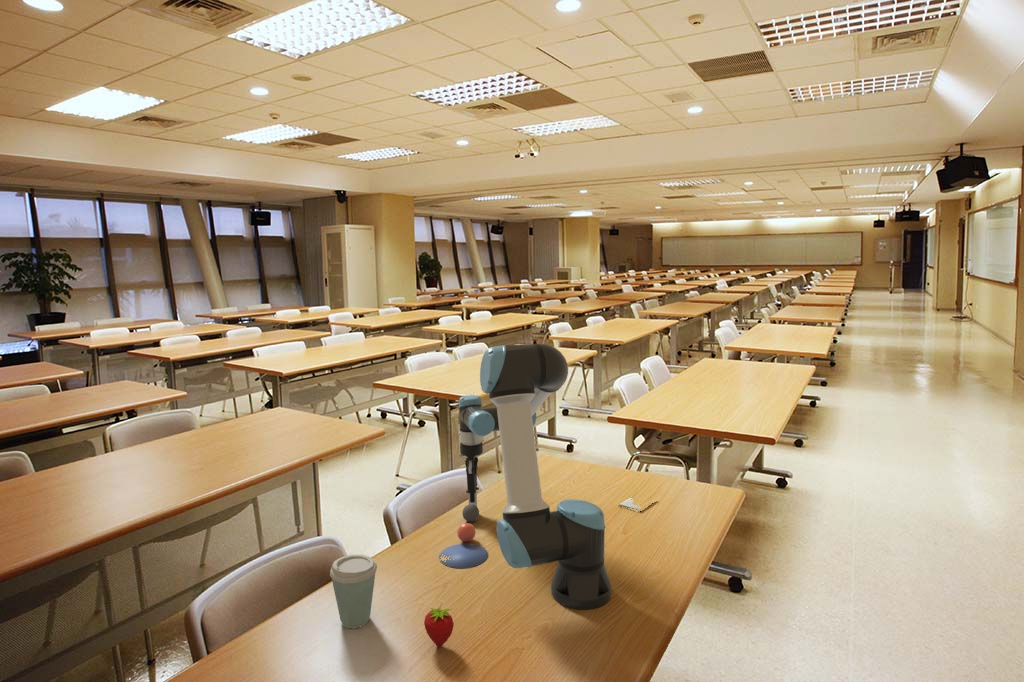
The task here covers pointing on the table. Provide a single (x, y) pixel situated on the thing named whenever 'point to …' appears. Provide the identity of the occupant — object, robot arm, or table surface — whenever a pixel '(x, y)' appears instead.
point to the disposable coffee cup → (354, 588)
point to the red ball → (466, 532)
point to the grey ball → (470, 512)
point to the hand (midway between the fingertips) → (473, 510)
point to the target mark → (464, 555)
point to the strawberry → (439, 625)
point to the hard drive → (629, 504)
